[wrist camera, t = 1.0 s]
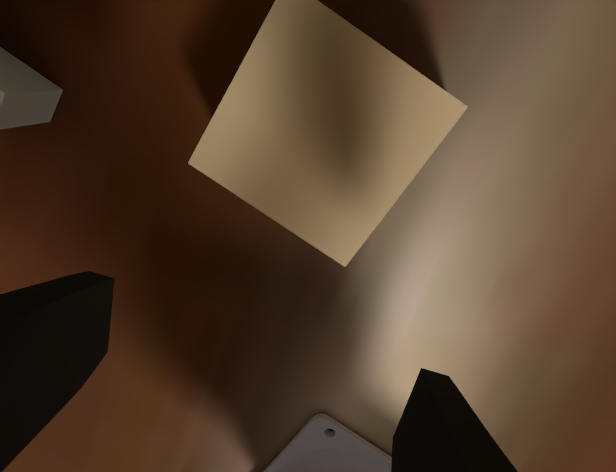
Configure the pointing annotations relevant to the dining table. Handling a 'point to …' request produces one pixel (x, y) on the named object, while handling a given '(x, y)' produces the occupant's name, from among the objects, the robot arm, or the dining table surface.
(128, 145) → the dining table surface
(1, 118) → the bracket
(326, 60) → the maple block
